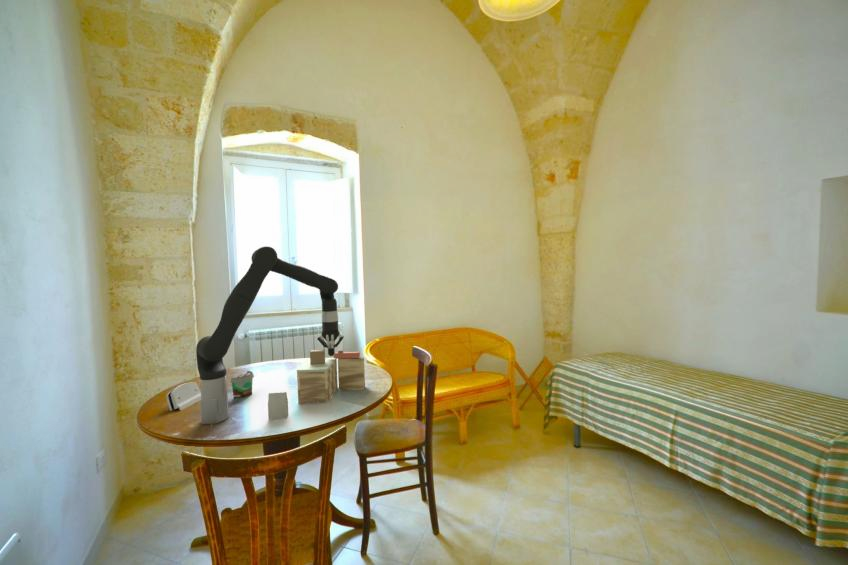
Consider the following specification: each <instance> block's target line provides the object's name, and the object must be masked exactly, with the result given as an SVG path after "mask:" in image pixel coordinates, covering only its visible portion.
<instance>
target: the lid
mask: <svg viewBox="0 0 848 565" xmlns="http://www.w3.org/2000/svg"><path fill="white" fill-rule="evenodd" d="M325 350H326V349H311V350H310V351H309V359H307V360H306V361H305V362H304V363H303V364H302V365H301V366H299V367H298V368H297V369H296V373H297V372H323V371H328V369H329V368H330V367H331V366H332V365H333V363H334V362H335V361H336V360H337V361H338V358H334V357H326V351H325Z"/></svg>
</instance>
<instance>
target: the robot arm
mask: <svg viewBox="0 0 848 565" xmlns="http://www.w3.org/2000/svg"><path fill="white" fill-rule="evenodd" d="M270 272H273V273H275V274H279V275H282V276H286V277H287V278H289V279H292V280H294V281H296V282H299V283H301V284H303V285H306V286H308V287H311V288H316V289H317V290H319V295H320V299H321V326H322V327H321V329H322V332H321V334H320V335H319V336H318V337H317V341H318V342H319V343H320V344H321V345H322V346H323V347H324V348H327V354H328V356H329V357H334V353H335V352H336V351H335V350H336V349H335V348H337V347H339V345H340V343H341V342H342V341H343V339H344V338H345V336H344V335H342V334H341V332H340V330H339V315H338V314H339V313H338V303H337V302H338V301H337V300H336V298H335V293H336V292H337V291H338V290H339V284H338V282H337V281H336V280H335V279H333V278H331V277H328V276H325V275H322V274H319V273H318V272H316V271H313V270H311V269H309V268H306V267H304V266H301V265H297V264H294V263H291V262H288V261H285V260H283V259H280V258H278V253H277V251H276V249H275V248H274V247H271V246H268V245H267V246H261V247H259V248H257V249H256V250H255V251H253V253H252V254H251V263H250V266H249V268H248V270H247V272H246V273H245V274H244V275H243V276H242V278H241V279H240V280H239V281H238V283H237V284H236V285H235V286H234V288H233V290H232V291H231V292H230V294H229V295H228V297H227V299H226V301H225V302H224V305H223V307H222V308H223V309H222V313H221V315H220V316H221V317H220V320H219V322H218V324H217V327H216V328H215V330H214V331H213V333H212V335H207V336H204V337H202V338H201V339H200V340H199V341H198V342H197V344H196V347H195V353H196V355H195V356H196V365H197V371H198V374H199V381H200V382H199V383H200V386H199V388H200V391H201V400H200V401H199V402H200V415H201V416H200V417H201V419H200V420H201V424H202V425H209V424H211V425H212V424H219V423H220V422H223V421H225V420H227V419H228V418H229V417H230V416H229V415H230V414H229V401H228V394H229V393H228V380H227V378H228V376H227V369H226V366H225V364H224V360H223V358H224V357H225V356H226V354H227V353H228V351H229V349H230V347H231V344H232V341H233V339H234V338H235V335H236V333H237V331H238V329H239V327H240V325H241V324H242V323H243V321H244V319H245V317H246V315H247V314H248V312H249V311H250V308H251V306H252V305H253V303H254V301H255V299H257V298H256V297H257V296H258V294H259V291H260V289H261V288H262V284H263V283H264V281H265V279H266V277H267V276H268V275H269V273H270ZM337 339H338V341H337V342H336V340H337Z"/></svg>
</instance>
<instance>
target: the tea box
mask: <svg viewBox="0 0 848 565" xmlns="http://www.w3.org/2000/svg"><path fill="white" fill-rule="evenodd" d="M287 394H288V392H287V391H285V392H284V391H282V392H281V391H280V392H269V393H268V397H267V398H268V399H267V412H268V413H267V414H268V420H269V421H271V420H272V421H273V420H286V419H287V418H288V416H289V401H288V395H287Z"/></svg>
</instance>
